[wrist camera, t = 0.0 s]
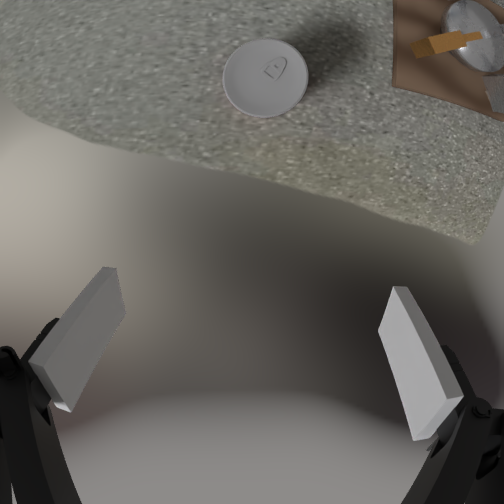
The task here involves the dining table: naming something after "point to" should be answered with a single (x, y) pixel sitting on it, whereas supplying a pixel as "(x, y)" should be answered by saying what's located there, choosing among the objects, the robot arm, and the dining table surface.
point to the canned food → (265, 77)
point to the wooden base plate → (437, 57)
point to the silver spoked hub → (471, 44)
